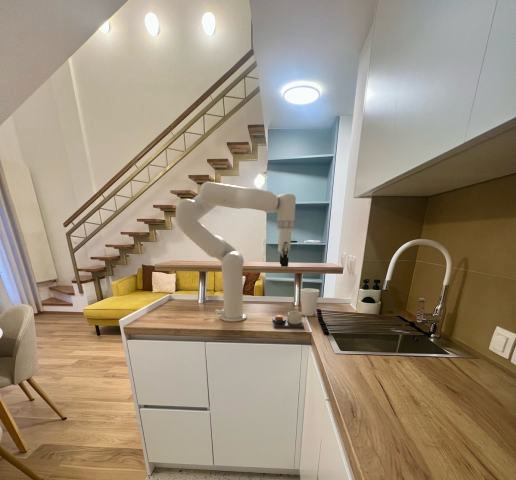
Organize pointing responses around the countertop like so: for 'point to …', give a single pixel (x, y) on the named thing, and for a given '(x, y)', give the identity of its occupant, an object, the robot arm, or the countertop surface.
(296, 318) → the bowl
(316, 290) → the foam cup
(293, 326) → the scale
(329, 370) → the countertop surface
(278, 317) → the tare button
